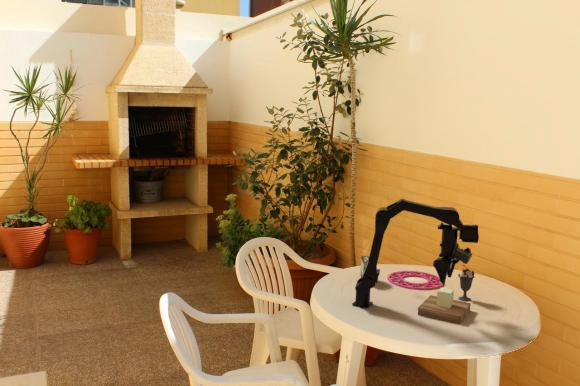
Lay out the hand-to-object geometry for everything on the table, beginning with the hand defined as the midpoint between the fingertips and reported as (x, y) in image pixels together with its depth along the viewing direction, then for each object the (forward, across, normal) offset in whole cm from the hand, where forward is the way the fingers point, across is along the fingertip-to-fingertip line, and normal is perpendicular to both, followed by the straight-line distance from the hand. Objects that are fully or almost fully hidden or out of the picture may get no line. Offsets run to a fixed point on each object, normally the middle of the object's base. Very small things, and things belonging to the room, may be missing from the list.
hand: (446, 280), depth 218 cm
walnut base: (+13, 0, 0) cm, 13 cm away
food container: (+13, +20, +40) cm, 47 cm away
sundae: (+13, +20, -3) cm, 24 cm away
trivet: (+13, +32, +22) cm, 41 cm away
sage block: (+10, 0, 0) cm, 10 cm away
